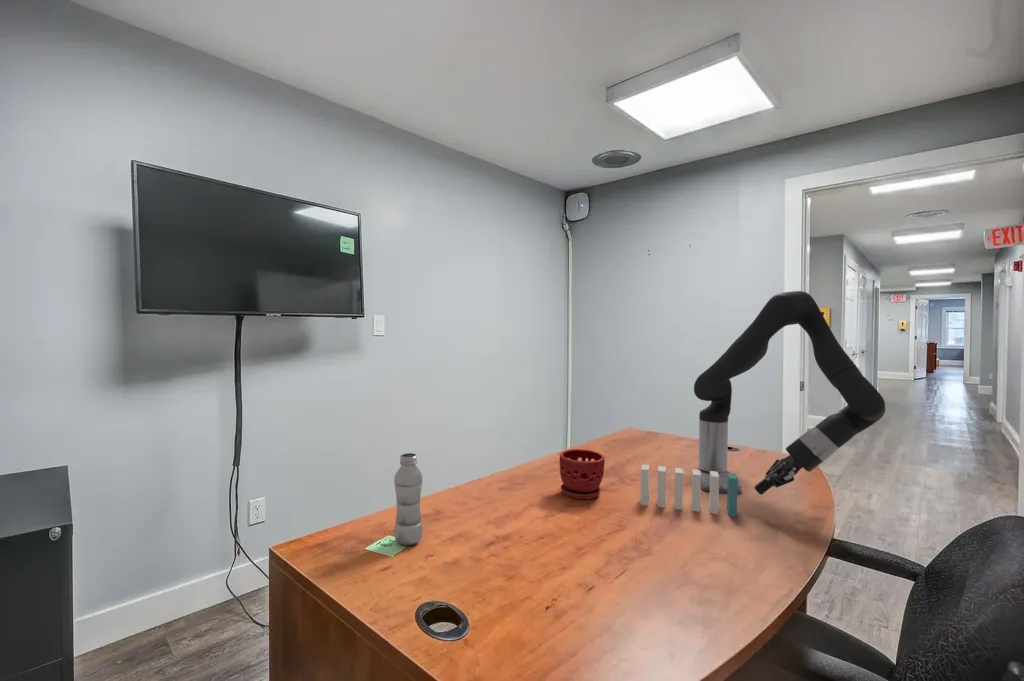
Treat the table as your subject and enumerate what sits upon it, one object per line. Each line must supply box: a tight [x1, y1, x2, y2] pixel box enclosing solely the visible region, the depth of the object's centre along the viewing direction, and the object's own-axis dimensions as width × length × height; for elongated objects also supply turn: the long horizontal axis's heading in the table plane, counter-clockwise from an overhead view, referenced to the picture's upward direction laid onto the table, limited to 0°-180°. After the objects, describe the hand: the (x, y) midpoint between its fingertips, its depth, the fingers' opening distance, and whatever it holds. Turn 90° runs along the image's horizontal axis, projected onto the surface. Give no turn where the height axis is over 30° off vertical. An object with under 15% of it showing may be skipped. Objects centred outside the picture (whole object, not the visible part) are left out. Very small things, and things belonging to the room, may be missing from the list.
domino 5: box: [708, 471, 720, 515], centre depth 131 cm, size 2×5×10 cm, turn 161°
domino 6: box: [726, 472, 739, 517], centre depth 130 cm, size 2×5×10 cm, turn 161°
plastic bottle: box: [393, 452, 424, 546], centre depth 111 cm, size 6×7×20 cm
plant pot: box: [559, 448, 606, 500], centre depth 143 cm, size 13×13×12 cm
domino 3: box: [674, 467, 684, 511], centre depth 134 cm, size 2×5×10 cm, turn 161°
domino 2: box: [656, 465, 667, 509], centre depth 135 cm, size 2×5×10 cm, turn 161°
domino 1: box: [639, 464, 650, 507], centre depth 137 cm, size 2×5×10 cm, turn 161°
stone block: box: [700, 471, 742, 494], centre depth 150 cm, size 12×5×10 cm
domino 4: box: [691, 468, 702, 513], centre depth 132 cm, size 2×5×10 cm, turn 161°
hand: (757, 491), depth 127 cm, fingers closed
